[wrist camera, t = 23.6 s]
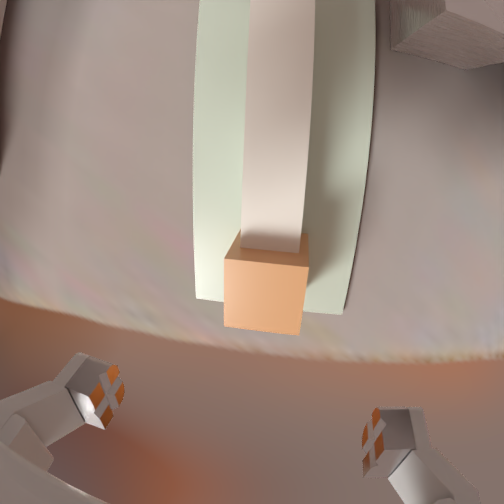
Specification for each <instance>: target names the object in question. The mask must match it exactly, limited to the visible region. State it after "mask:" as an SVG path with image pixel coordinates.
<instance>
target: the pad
mask: <svg viewBox="0 0 504 504" xmlns="http://www.w3.org/2000/svg"><path fill="white" fill-rule="evenodd" d="M249 17H250V0H200V4H199V16H198V30H197V45H196V63H195V85H194V116H193V230H194V262H195V285H196V298H198V299H205V300H212V301H220V302H224V258H225V256H226V254H227V252H228V250H229V249H230V247H231V245H232V243H233V241H234V240H235V238H236V236H237V234H238V232H239V231H240V229H241V207H242V178H243V151H244V126H245V102H246V79H247V58H248V37H249ZM374 77H375V1H374V0H315V32H314V62H313V84H312V103H311V120H310V135H309V149H308V162H307V175H306V186H305V198H304V208H303V219H302V229H301V233H306V234H308V245H309V271H308V278H307V285H306V292H305V299H304V306H303V311H306V312H316V313H327V314H338V315H342V312H343V308H344V303H345V299H346V294H347V289H348V285H349V280H350V275H351V270H352V264H353V259H354V254H355V248H356V242H357V236H358V230H359V224H360V218H361V211H362V204H363V197H364V190H365V182H366V174H367V166H368V157H369V147H370V137H371V125H372V112H373V97H374Z"/></svg>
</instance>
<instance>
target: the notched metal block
mask: <svg viewBox="0 0 504 504" xmlns="http://www.w3.org/2000/svg"><path fill="white" fill-rule="evenodd" d="M390 24H391V50H394V51H398V52H403V53H407V54H411V55H415V56H419V57H423V58H427V59H430V60H434V61H437V62H441V63H444V64H447V65H451V66H454V67H457V68H460V69H463V70H468V69H473V68H477V67H482V66H487V65H492V64H498V63H503V62H504V0H390Z"/></svg>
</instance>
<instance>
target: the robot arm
mask: <svg viewBox="0 0 504 504" xmlns="http://www.w3.org/2000/svg"><path fill="white" fill-rule="evenodd" d="M119 373H120V371H119V369H118V366H117V365H114V364H112V363H109V362H105V361H103V360H100V359H97V358H94V357H91V356H89V355H86V354H83V353H80V352H79V353H77V354H75V355H74V356H73V358H72V359H71V360H70V361H69V362H68V363H67V365H66V366H65V367H64V368H63V370H62V371H61V372H60V373H59V374H58V376H57V377H56V378H55V379H54V381H53V382H51V381H48V382H45V383H43V384H40V385H38V386H35V387H33V388H30V389H28V390H25V391H23V392H20V393H18V394H15V395H13V396H10V397H8V398H5V399H2V400H0V504H109V503H106V502H104V501H102V500H100V499H97V498H95V497H93V496H91V495H89V494H87V493H85V492H83V491H81V490H79V489H77V488H75V487H73V486H71V485H69V484H67V483H65V482H63V481H62V480H60V479H58V478H56V477H55V476H53V475H51V474H49V473H48V472H47V470H48V469H49V467H50V465H51V463H52V462H53V460H54V459H53V456H52V455H51V453H50V452H49V451H48V450H47V449H46V447H47V446H48V445H50V444H52V443H54V442H55V441H57V440H59V439H60V438H62V437H63V436H65V435H67V434H68V433H70V432H72V431H73V430H75V429H76V428H78V427H80V426H81V425H83V424H85V422H86V423H88V424H91V425H94V426H96V427H99V428H102V429H104V430H105V429H106V428H107V426H108V424H109V423H110V421H111V419H112V418H113V409H115V408H117V407H119V406H120V404H121V402H122V400H123V397H124V393H125V390H124V384H123V381H122V380H121V379H120V378H119V377H118V375H119ZM362 449H363V450H364V452H365V453H366V454H367V455H366V456H365V458H364V459H363V477H364V478H386V477H387V478H388V479H389V481H390V483H391V484H392V485H393V487H394V488H395V490H396V491H397V493H398V494H399V496H400V497H401V499H402V500H403V502H404V503H405V504H481V502H480V497H479V492H478V490H477V489H476V488H475V487H474V486H473V485H472V484H471V483H470V482H469V481H468V480H467V479H466V478H465V477H464V476H463V475H462V474H461V473H460V472H459V471H458V470H457V469H456V468H455V467H454V466H453V465H452V463H451V462H449V461H448V459H447V458H446V457H444V456H443V454H441V452H440V451H439V450H438V449H437V448H432V445H431V441H430V436H429V432H428V427H427V423H426V419H425V415H424V411H423V409H422V408H421V407H376V408H375V409H374V410H373V412H372V420H370V421H368V422H367V423H366V425H365V428H364V431H363V435H362Z"/></svg>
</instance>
